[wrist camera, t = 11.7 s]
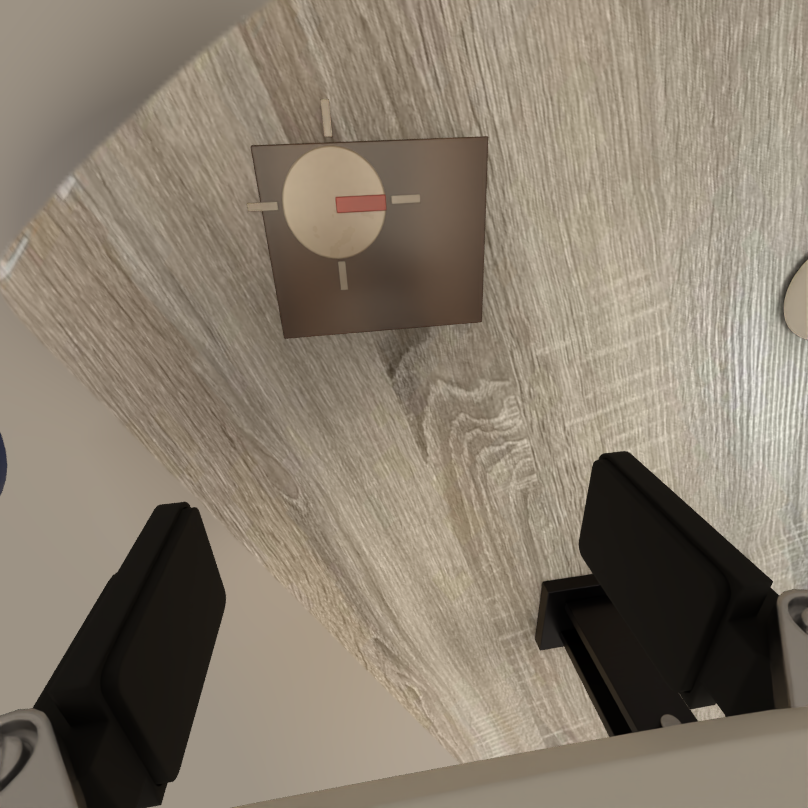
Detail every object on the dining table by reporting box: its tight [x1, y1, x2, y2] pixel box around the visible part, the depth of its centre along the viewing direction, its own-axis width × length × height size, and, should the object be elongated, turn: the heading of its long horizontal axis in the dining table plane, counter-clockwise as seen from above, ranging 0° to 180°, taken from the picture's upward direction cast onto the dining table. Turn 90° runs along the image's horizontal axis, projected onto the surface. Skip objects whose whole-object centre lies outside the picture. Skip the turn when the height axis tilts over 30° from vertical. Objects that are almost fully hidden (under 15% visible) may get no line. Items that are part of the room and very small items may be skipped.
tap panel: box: [247, 99, 488, 339], centre depth 23 cm, size 12×11×3 cm
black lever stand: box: [535, 575, 698, 737], centre depth 35 cm, size 8×8×14 cm
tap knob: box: [282, 145, 386, 259], centre depth 19 cm, size 4×4×5 cm
